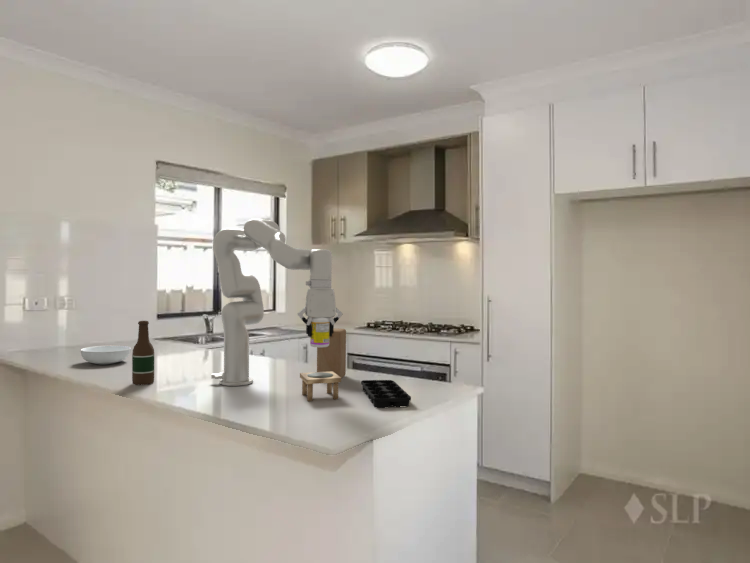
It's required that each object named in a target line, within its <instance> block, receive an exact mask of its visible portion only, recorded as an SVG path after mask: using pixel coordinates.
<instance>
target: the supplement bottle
mask: <svg viewBox="0 0 750 563" xmlns="http://www.w3.org/2000/svg"><path fill="white" fill-rule="evenodd" d="M311 326H312V335H311V337H309V339H310V340H309V342H310V347H312V348H317V347H328V346H329V330H330V319H329V318H323V317H321V318H313V319H312V321H311Z"/></svg>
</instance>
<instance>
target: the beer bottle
mask: <svg viewBox="0 0 750 563" xmlns="http://www.w3.org/2000/svg"><path fill="white" fill-rule="evenodd" d="M137 324H138V334H137V342H136V343H135V345H134V346H133V348H132V353H131V355H132V356H131V357H132V358H131V362H132V363H131V368H132V369H131V372H132V373H131V375H132V376H131V380H132V381H131V382H132V384H133V385H134V386H146V385H153V383H154V382H155V348H154V346H153V344H152V343H151V342H150V336H149V334H150V332H149V324H150V323H149V320H139V321H138V323H137Z"/></svg>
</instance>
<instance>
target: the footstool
mask: <svg viewBox="0 0 750 563" xmlns="http://www.w3.org/2000/svg"><path fill="white" fill-rule="evenodd" d="M299 378H300V379H301V385H302V387H301V388H302V389H301V396H307V400H306V401H307V402H313V400H314V397H313V396H314V395H313V394H314V390H313V389H314V385H315V384H316V385H318V384H326V394H328V395H329V394H332V393H333V394H332V399H333V400H339V383H342V378H341V377H340V376H338V375H337V374H335V373H334V372H333V371H330V372H317V371H314V372H300V373H299Z"/></svg>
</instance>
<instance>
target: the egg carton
mask: <svg viewBox="0 0 750 563" xmlns="http://www.w3.org/2000/svg"><path fill="white" fill-rule="evenodd" d="M360 385H362V392H364V393H365V395H366V396H367V398H368V399H369V400H370V403H371V404H372V405H373V407H374V408H375V407H377V408H376V409H386V408H385V407H388V408H390V407H394V406H396V407H395V408H401V407H400V406H407V407H409V405H410V401H412V397H411V395H410V394H408V393H407V392H406V391H405V390H404V389H403V388H402V387H401V386H400V385H399V384H398V383H397V382H396V381H395V380H391V379H373V380H372V379H369V380H368V379H366V380H365V379H364V380H361V381H360ZM391 405H393V406H391Z"/></svg>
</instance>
